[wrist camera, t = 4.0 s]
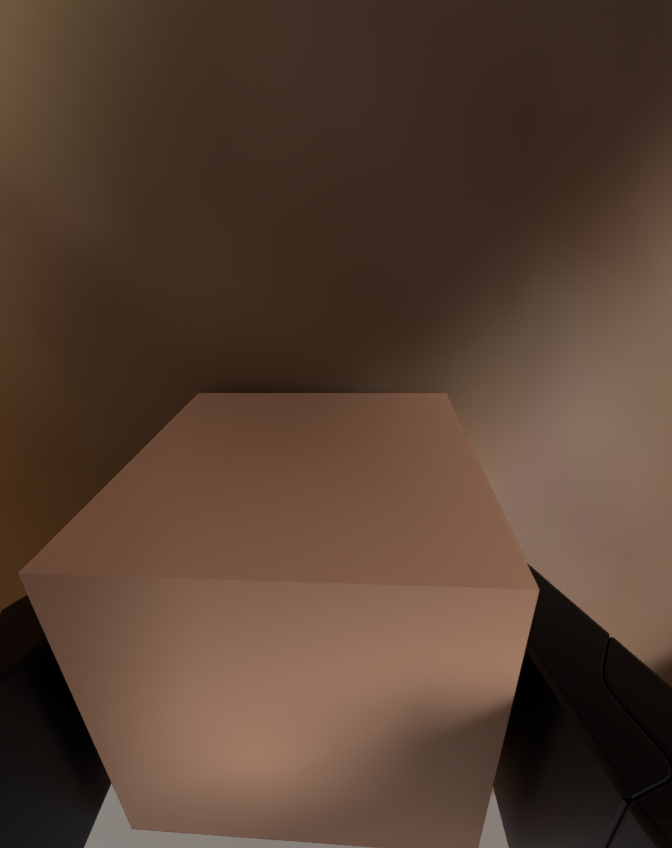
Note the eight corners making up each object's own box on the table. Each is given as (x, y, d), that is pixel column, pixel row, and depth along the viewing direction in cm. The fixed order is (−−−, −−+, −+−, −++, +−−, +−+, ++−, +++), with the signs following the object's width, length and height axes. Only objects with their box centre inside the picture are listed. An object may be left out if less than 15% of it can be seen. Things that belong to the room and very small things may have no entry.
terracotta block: (446, 392, 8) (540, 589, 4) (429, 583, 10) (476, 854, 6) (198, 392, 9) (18, 572, 4) (230, 577, 11) (132, 829, 6)
